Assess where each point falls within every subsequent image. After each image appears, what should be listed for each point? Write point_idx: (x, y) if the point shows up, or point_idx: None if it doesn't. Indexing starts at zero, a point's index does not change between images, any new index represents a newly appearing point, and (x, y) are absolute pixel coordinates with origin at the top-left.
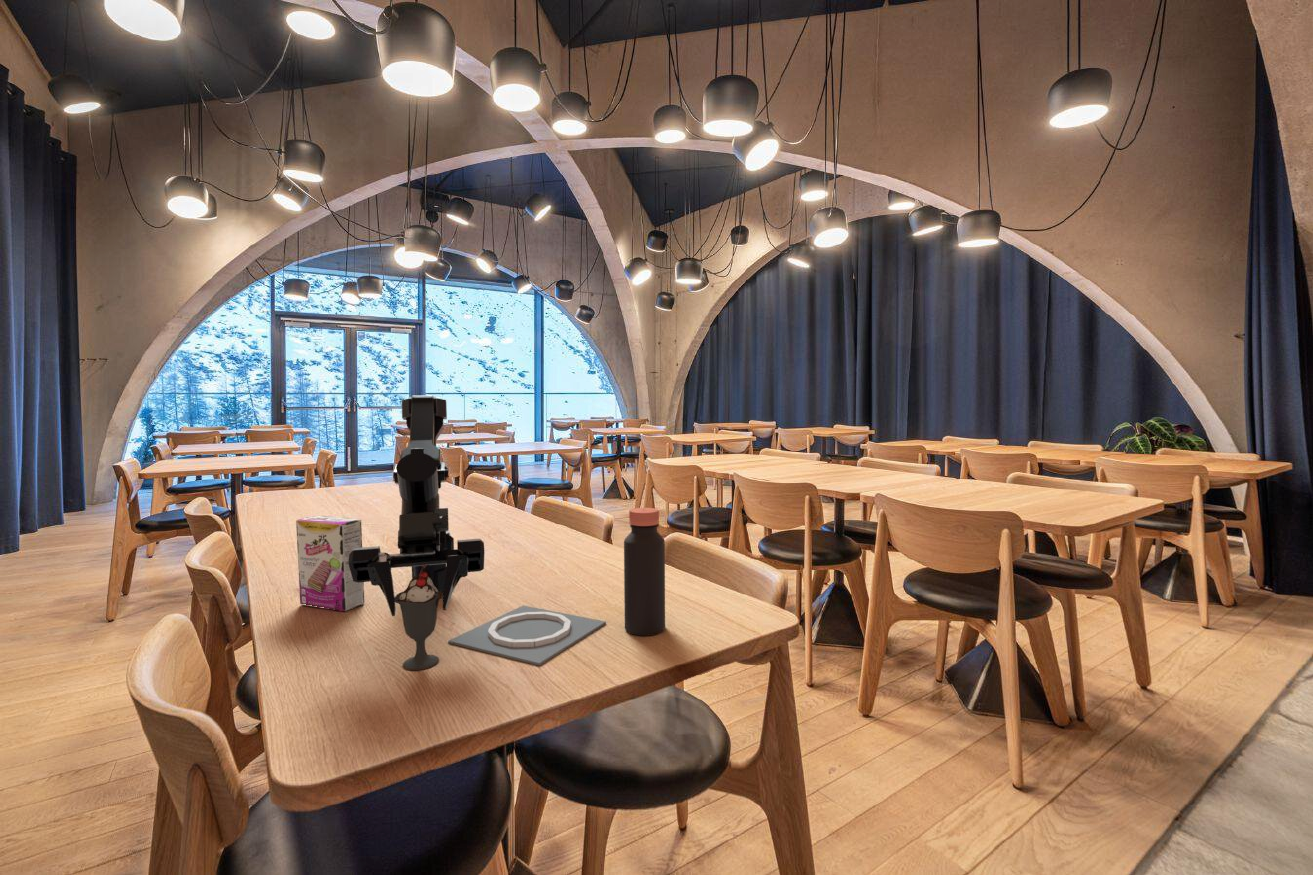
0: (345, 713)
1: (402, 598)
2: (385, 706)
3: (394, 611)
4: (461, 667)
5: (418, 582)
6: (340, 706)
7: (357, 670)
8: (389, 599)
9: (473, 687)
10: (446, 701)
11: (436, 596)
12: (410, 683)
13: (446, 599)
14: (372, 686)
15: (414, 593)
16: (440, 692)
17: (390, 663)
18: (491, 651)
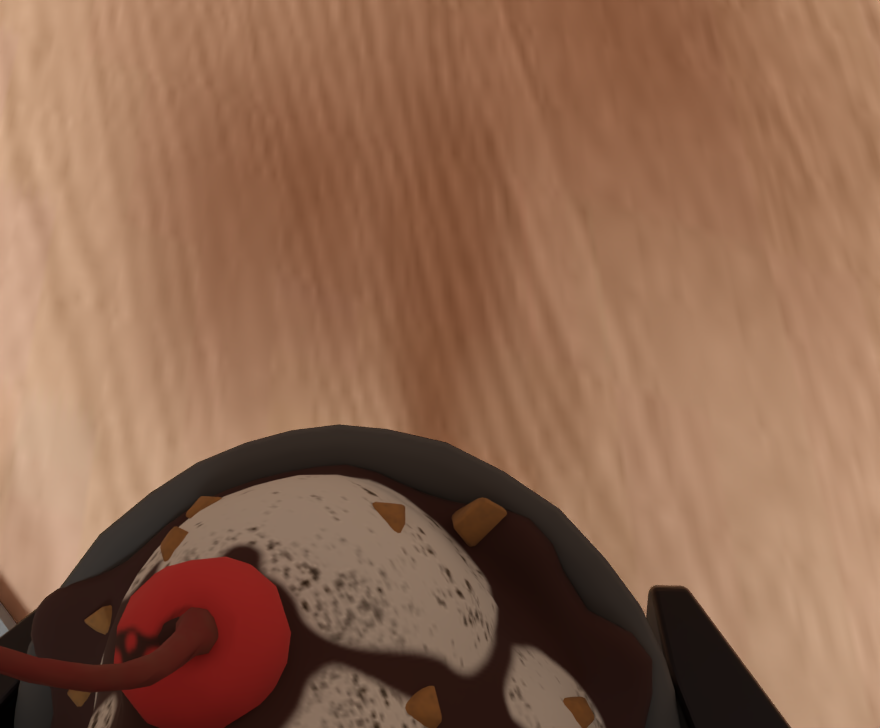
0: (800, 115)
1: (561, 683)
2: (604, 131)
3: (650, 595)
4: None
5: (246, 576)
6: (848, 197)
7: (868, 683)
8: (754, 720)
9: (175, 206)
10: (311, 99)
11: (103, 584)
12: (497, 359)
13: (21, 630)
14: (715, 392)
15: (364, 518)
16: (337, 201)
17: None
18: (7, 626)
